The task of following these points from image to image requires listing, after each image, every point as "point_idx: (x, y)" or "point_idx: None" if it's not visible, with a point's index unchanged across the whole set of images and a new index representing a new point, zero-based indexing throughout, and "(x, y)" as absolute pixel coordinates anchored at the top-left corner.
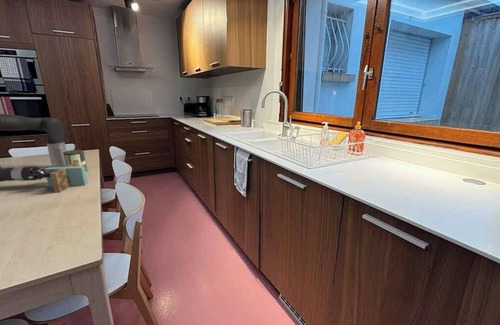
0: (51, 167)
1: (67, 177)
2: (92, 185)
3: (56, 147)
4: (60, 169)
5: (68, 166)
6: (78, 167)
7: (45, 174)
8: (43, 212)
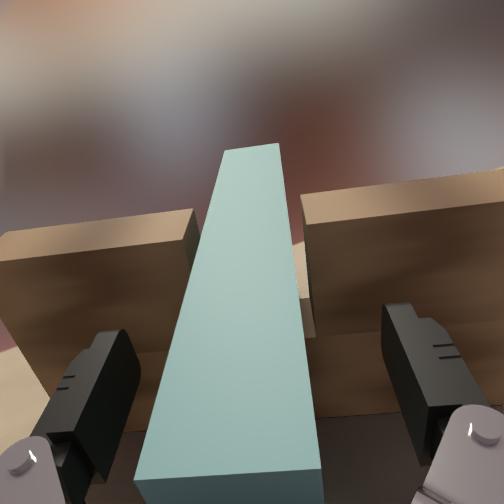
0: (165, 396)
1: (300, 302)
2: (295, 258)
3: None
4: (336, 211)
5: (190, 218)
6: (260, 156)
7: (476, 392)
8: None
